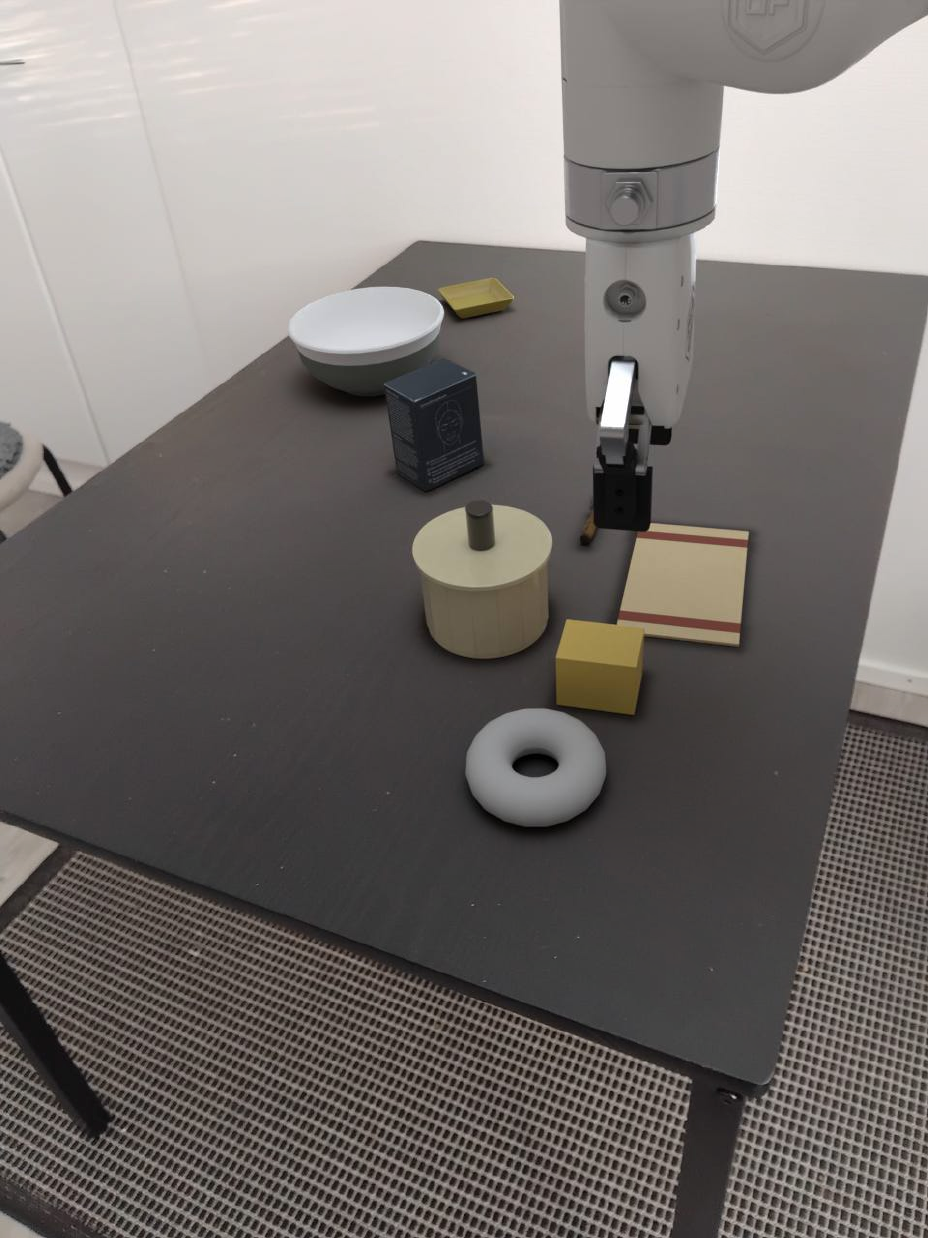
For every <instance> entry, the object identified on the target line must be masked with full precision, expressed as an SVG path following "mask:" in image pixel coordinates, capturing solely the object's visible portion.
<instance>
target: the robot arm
mask: <svg viewBox="0 0 928 1238" xmlns="http://www.w3.org/2000/svg"><path fill="white" fill-rule="evenodd" d="M558 3H559V4H558V5H559V10H558V11H559V40H560V41H559V42H560V44H559V45H560V71H561V72H560V76H561V80H560V81H561V104H562V107H561V108H562V109H561V110H562V136H563V137H562V138H563V139H562V140H563V184H564V189H563V190H564V211H565V213H564V214H565V215H564V217H565V226H566V227H567V229H568V230H569V231H570V232H571V233H573V234H575V235H577V236H579V237H581V238H585V257H584V258H585V261H584V262H585V263H584V278H583V283H584V328H583V329H584V330H583V331H584V334H583V335H584V336H583V337H584V338H583V339H584V385H585V386H584V387H585V389H584V390H585V403H586V404H585V405H586V414H587V417H588V418H589V420H590V421H591V422H593V424H595V425H596V426H597V431H596V432H597V433H596V442H595V450H594V460H593V461H594V463H593V466H592V498H593V505H592V506H593V508H592V509H593V518H594V525H595V526H596V529H597V528H598V529H603V530H613V531H614V530H616V531H627V532H638V531H639V532H645V531H648V530H649V528H650V524H651V523H652V509H653V507H652V505H653V504H652V503H653V473H654V472H653V471H654V466H652V465H651V466H649V465H648V463H649V453H650V446H668V445H670V444H671V441H672V435H673V426H675V425H676V424H677V423H678V422H679V420H680V418H681V415H682V410H683V407H684V403H685V399H686V395H687V391H688V387H689V381H690V378H691V372H692V368H693V363H694V350H695V349H694V348H695V347H694V345H695V344H694V343H695V341H694V340H695V306H696V305H695V302H696V301H695V300H696V277H697V274H696V273H697V272H696V271H697V232H699V231H702V230H703V229H705V228H706V227H707V226H709V225H711V224H712V223H713V221H715V219H716V215H717V199H718V183H719V169H720V156H721V155H720V153H721V152H720V151H721V139H722V123H723V110H724V109H723V107H724V96H725V95H724V93H725V87H727V88H732V89H736V90H741V91H746V92H751V93H757V94H764V95H793V94H799V93H805V92H808V91H811V90H814V89H817V88H819V87H822V86H824V85H827V84H828V83H831V82H833V80H836V79H837V78H839V77H840V76H842V75H843V74H845V73H846V72H847V71H848V70H850V69H851V68H852V67H854V66H855V65H857V64H858V63H860V62H861V61H862V60H863V59H864V58H866V57H867V56H868V55H870V54H871V53H872V52H873V51H874V50H875V49H876V48H878V47H879V46H881V45H882V44H883V43H885V42H886V41H888V40H890V38H892V37H894V36H895V35H896V34H898V33H899V32H902V31H903V30H904V29H906V28H908V27H909V26H911V25H913V24H914V23H916V22H918V21H920V20H921V19H923V18H925V17H928V0H558ZM635 445H636V446H637V447H636V446H635Z"/></svg>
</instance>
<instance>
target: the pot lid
mask: <svg viewBox="0 0 928 1238" xmlns="http://www.w3.org/2000/svg"><path fill="white" fill-rule="evenodd" d="M552 552H553V538H552V534H551V531H550V529H549V528H548V527H547V525H546V524H545V522H543V521H542V519H540V518H539V517H537V516H536V515H534V514H532V513H530V512H529V511H526V510H523V509H520V508H517V507H514V506H510V505H509V506H508V505H501V504H492V503H491V502H490V501H488V500H485V499H475V500H472V501H470V502H468V503H467V504H466V505H465V506H463V507H458V508H454V509H452V510H449V511H446V512H445V513H442V514H440V515H438V516H436V517H434V518H433V519H431V520H430V521H428V522H427V523H426V524H425V525H423V526H422V528H421V529H420V530H419V531H418V532H417V534H416V535H415V537H414V540H413V542H412V546H411V554H412V560H413V563H414V565H415V567H416V569H417V570H418V571H419V573H420V572H421V574H423V575H424V576H425V577H426V578H427V579H429V580H430V581H432V582H434V583H436V584H438V585H441V586H443V587H446V588H450V589H454V590H460V591H470V592H484V591H493V590H499V589H503V588H507V587H511V586H514V585H516V584H519V583H521V582H523V581H525V580H527V579H529V578H531V577H532V576H534V575H535V574H536V573H538V572H539V571H540V570H541V569H542V568H543V567H544V566H545V565H546V563H547V564H548V561H549V560H550V557H552V556H551V555H552Z"/></svg>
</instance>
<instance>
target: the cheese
mask: <svg viewBox="0 0 928 1238" xmlns="http://www.w3.org/2000/svg"><path fill="white" fill-rule="evenodd" d="M644 643H645V636H644V628H640V627H631V626H622V625H617V624H613V623H612V624H611V623H606V622H605V623H603V622H595V621H586V620H577V619H566V620H565V623H564V627H563V630H562V633H561V638H560V640H559V644H558V647H557V650H556V654H555V692H556V693H555V695H556V696H555V697H556V706H563V707H564V706H565V707H571V708H577V709H578V708H579V709H584V710H585V709H586V710H594V711H602V712H607V713H614V714H615V713H616V714H624V715H629V716H630V715H631V716H633V715H635V714H636V708H637V703H638V698H639V694H640V693H639V692H640V688H641V682H642V676H643V660H644Z"/></svg>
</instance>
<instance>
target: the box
mask: <svg viewBox="0 0 928 1238" xmlns="http://www.w3.org/2000/svg"><path fill="white" fill-rule="evenodd" d="M384 389H385V394H384V395H385V401H386V407H387V408H386V409H387V415H388V422H389V428H390V429H389V430H390V435H391V440H392V441H391V442H392V448H393V456H394V461H395V462H394V463H395V469H396V472H397V473H398V474H399V475H401V476H402V477H403V478H405V479H406V480H408V481H409V482H411V483H412V484H414V485H415V486H417V487H419V488H420V489H421V490H423V491H424V492H428V491H431V490H433V489H435V488H436V487H439V486H442V485H443V484H445V483H447V482H449V481H451V480H453V479H456V478H457V477H459V476H461V475H463V474H466V473H468V472H470V471H471V470H474V469H476V468H478V467H480V466H482V465H484V464H485V457H484V447H483V445H484V444H483V436H482V425H481V412H480V402H479V393H478V391H479V390H478V382H477V374H476V372H474V371H472V370H470V369H468V368H466V367H464V366H462V365H460V364H458V363H456V362H454V361H453V360H450V359H448V358H446V357H443V358H441V359H439V360H436V361H434V362H431V363H430V364H429V365H427V366H424V367H422V368H419V369H417V370H415V371H412V372H410V373H407V374H405V375H403V376H400V377H398V378H396V379H393V380H391V381H388V382H386V383H384Z"/></svg>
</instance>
